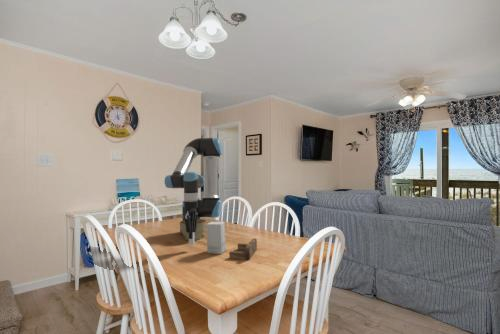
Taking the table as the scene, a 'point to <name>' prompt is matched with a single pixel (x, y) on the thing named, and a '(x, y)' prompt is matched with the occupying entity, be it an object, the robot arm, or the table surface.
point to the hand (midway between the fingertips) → (191, 244)
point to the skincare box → (215, 237)
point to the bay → (248, 248)
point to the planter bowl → (199, 229)
